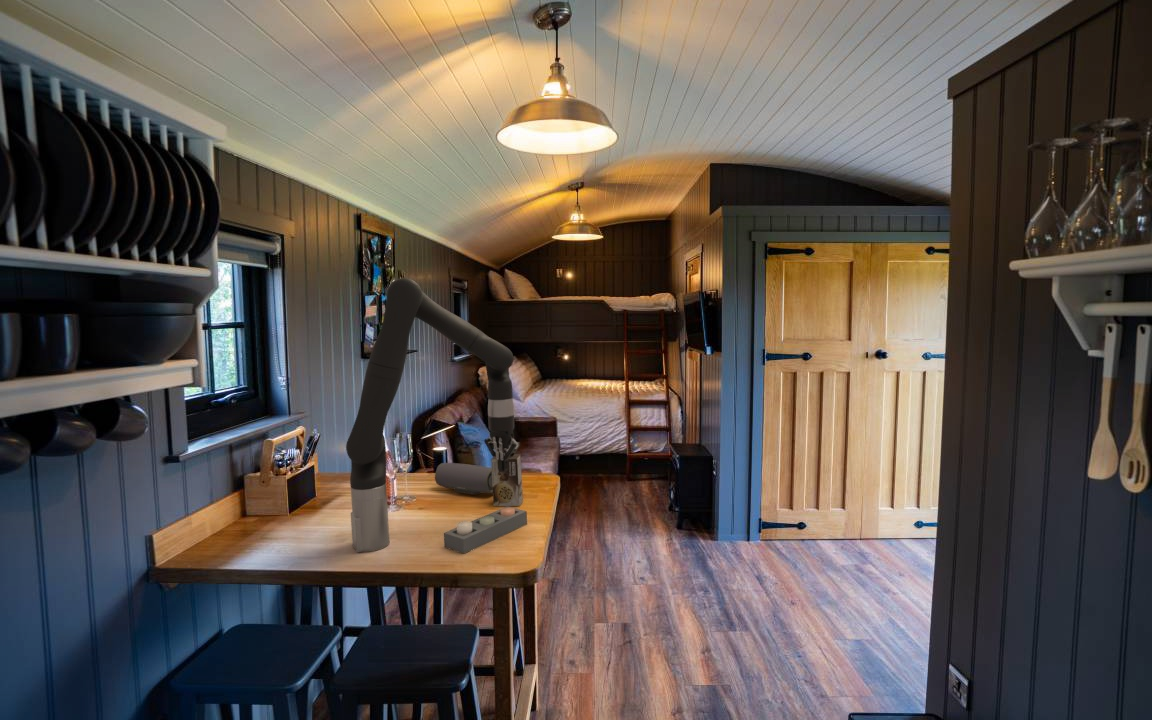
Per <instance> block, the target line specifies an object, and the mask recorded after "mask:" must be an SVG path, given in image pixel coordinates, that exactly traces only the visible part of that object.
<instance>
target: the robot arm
mask: <svg viewBox="0 0 1152 720" xmlns="http://www.w3.org/2000/svg"><path fill="white" fill-rule="evenodd" d="M415 318H416V319H418V320H420V321H422V322H423V323H426V324H427V325H428V326H430V327H431V328H433V329H434V330H436V331H438V332H439V333H440V334H441V335H442V336H444V337H445V338H447V339H448V340H450V341H451V342H452V343H454V344H455V345H456V346H458V347H460V348H461V349H463V350H464V351H466V352H467V353H469V354H472V355H473V356H476V357H477V358H479V359H480V360H482V361H483V362H484V363H485V371H486V376H487V383H488V384H487V385H488V386H487V391H488V395H487V396H488V397H487V399H488V400H487V401H488V404H487V416H488V417H487V419H488V421H487V423H488V430H489V431H490V432H489V437H488V438H485V439H484V441H483V442H484V444H485V446H486V447H487V449H488V451H489V453H490V454H491V456H492V458H493V457H496V459H497V460H498V470H499V472H502V473H504V472H507V470H508V459H509V458H512V457H513V456H514V454H517V451H518V450H519V448H520V446H521V442H520V441H516V439H515V435H514V429H515V409H514V408H515V405H514V404H515V403H514V399H513V395H514V393H513V383H512V382H513V381H512V380H511V378H510V368H511V367H512V366H513V363H514V355H513V352H512V351H511V349H510V348H508V347H507V346H506V345H504V344H502V343H500V342H499V341H497V340H495V339H493V338H492V337H489V336H488V335H487V334H485V333H484V332H483V331H482V330H480V329H478V327H476V326H475V325H473V324H471V323H470V322H468V321H466V320H465V319H463V318H462V317H460V316H458V315H456V314H455V313H452V312H451V311H449V310H447V308H446V309H445V308H444V307H442V306H441V305H440V304H438V303H437V302H435V301H434V300H432V298H430V297H429V296H428V295H427V294H426V293H425V292H424V291H423V290H422V288H421V286H420V285H419V283H417V281H415V280H413V279H412V278H407V277H400V278H397V279H395V280H394V281H392V282H391V283H390V284H389V285H388V287H387V290H386V303H385V309H384V314H383V319H382V324H381V328H380V330H379V333H378V335H377V337H376V340H375V341H374V345H373V348H372V349H371V353H370V356H369V358H368V361H367V362H368V363H367V367H366V371H365V374H364V380H363V384H362V390H361V394H360V400H359V407H358V411H357V415H356V418H355V421H354V423H353V426H352V429H351V431H350V434H349V437H348V439H347V441H346V445H345V448H346V449H345V451H346V453H347V456H348V458H349V459H350V460H351V462H350V463H351V469H350V478H349V483H350V492H351V493H350V495H351V499H350V501H351V512H350V525H351V541H352V542H351V543H352V547H353V548H354V550H355V551H356V553H362V552H365V553H367V552H368V553H369V552H374V551H378V550H381V549H384V548H386V547H388V545H389V544H390V528H389V527H390V526H389V511H388V494H387V491H388V490H387V453H386V452H387V449H386V439H385V436H384V429H385V425H386V424H385V423H386V421H387V416H388V413H389V411H390V409H391V407H392V404H393V402H394V399H395V398H396V395H397V392H398V389H399V387H400V383H401V380H402V376H403V373H404V369H405V364H406V358H407V354H408V353H407V352H408V347H409V339H410V333H411V330H412V327H413V323H414V320H415Z"/></svg>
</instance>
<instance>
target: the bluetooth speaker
mask: <svg viewBox="0 0 1152 720" xmlns="http://www.w3.org/2000/svg"><path fill="white" fill-rule="evenodd" d="M434 481H435V483H436V484H437V485H438V486H441V487H444V488H448V489H451V490H452V489H453V490H454V492H456V493H460V494H466V495H467V494H468V495H476V494H478V495H481V494H483V493H484V494H485V493H486V494H488V493H489V494H493V486H492V469H491V467H488V466H483V465H474V464H468V463H467V464H466V463H457V462H441V463H440V464H438V465H437V467H436V471H435V473H434Z"/></svg>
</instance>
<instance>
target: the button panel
mask: <svg viewBox="0 0 1152 720" xmlns="http://www.w3.org/2000/svg"><path fill="white" fill-rule="evenodd" d="M503 508H514V509H515V514H513V515H511V516H509V517H507V516H503V515H501V509H503ZM486 516H491V517H494V521H495V523H493V524H491V525H488V526H485V525H481V524H480V518H482V517H486ZM470 522H472V533H470V534H468V535H466V536H462V535H459V534H457V527H454V528H452V529H450V530H447V531H446V532H443V545H444V548H445V547H447V548H446V549H448V548H450V549H449V550H451V549H452V551H454V550H455V552H457V551H458V553H460V552H461V553H460V554H463V553H465V554H467V553H469V552H472V551H474V550H475V549H478V548H480V547H482V546H485V545H486V544H489V543H490V542H492V541H495V540H496V539H499V538H501V537H503V536H505V535H507V534H509V533H512V532H513V531H514V532H515V530H518V529H520V528H522V527H524V526H527V525H528V513H527V510H523V509H520V508H516V507H513V506H503V507H502V508H499V509H497V510H495V511H492V512H490V513H488V514H486V515H483V516H481V517H479V518H475V519H474V520H472V521H470ZM473 549H474V550H473ZM471 550H472V551H471Z"/></svg>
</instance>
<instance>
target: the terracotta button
mask: <svg viewBox="0 0 1152 720" xmlns="http://www.w3.org/2000/svg"><path fill="white" fill-rule="evenodd" d="M502 508H503V509H502ZM502 508H500V509H501V515H503V516H507V517H509V516H511V515H513V514H515V509H514V508H515V507H512V508H504V507H502Z"/></svg>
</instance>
